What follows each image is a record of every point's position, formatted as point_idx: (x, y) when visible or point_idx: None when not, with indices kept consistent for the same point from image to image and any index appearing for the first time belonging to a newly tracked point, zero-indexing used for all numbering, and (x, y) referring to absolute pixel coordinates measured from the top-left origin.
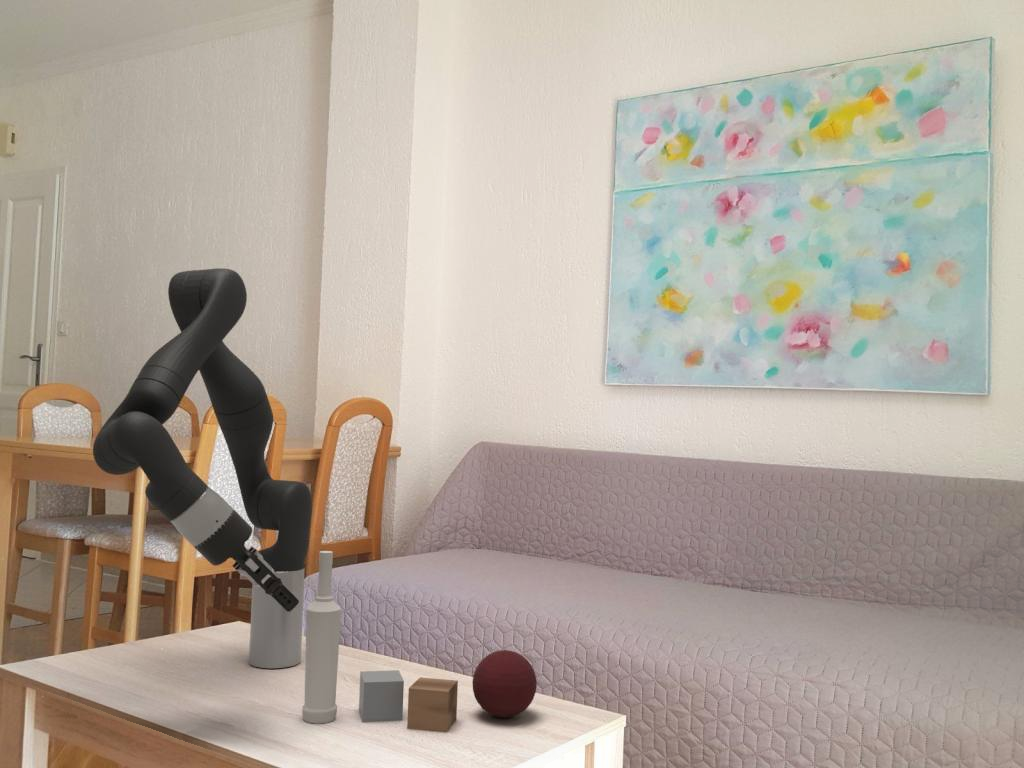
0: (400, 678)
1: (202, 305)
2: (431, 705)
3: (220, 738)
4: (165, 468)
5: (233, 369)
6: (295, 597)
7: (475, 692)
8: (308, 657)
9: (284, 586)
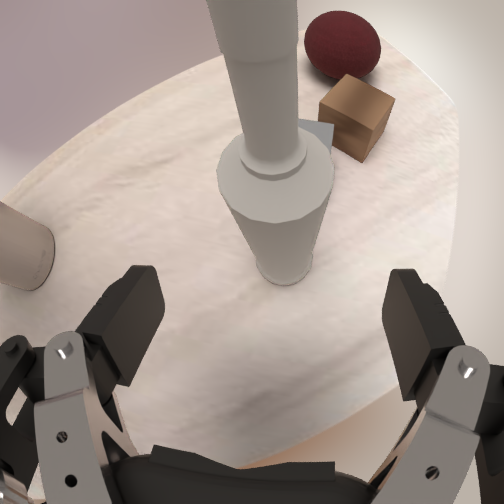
0: (318, 124)
1: None
2: (382, 123)
3: (319, 416)
4: None
5: None
6: (419, 280)
7: (348, 71)
8: (295, 258)
9: (449, 335)
